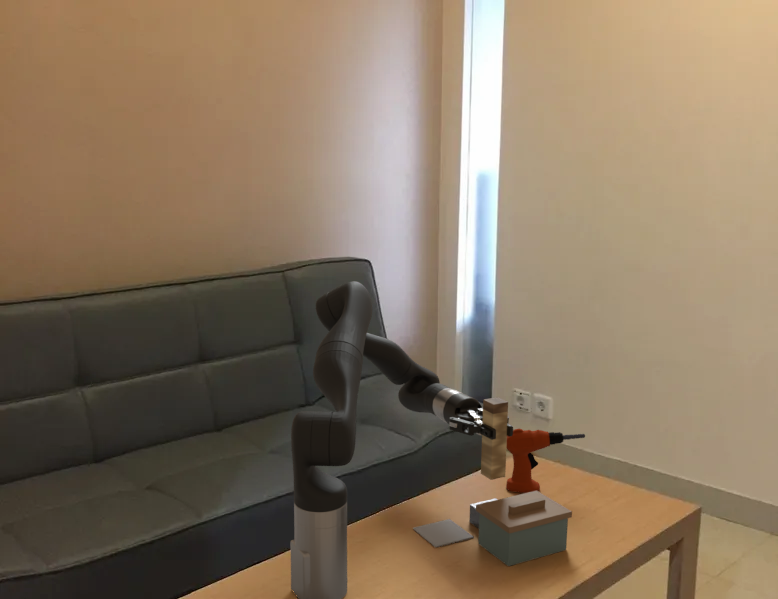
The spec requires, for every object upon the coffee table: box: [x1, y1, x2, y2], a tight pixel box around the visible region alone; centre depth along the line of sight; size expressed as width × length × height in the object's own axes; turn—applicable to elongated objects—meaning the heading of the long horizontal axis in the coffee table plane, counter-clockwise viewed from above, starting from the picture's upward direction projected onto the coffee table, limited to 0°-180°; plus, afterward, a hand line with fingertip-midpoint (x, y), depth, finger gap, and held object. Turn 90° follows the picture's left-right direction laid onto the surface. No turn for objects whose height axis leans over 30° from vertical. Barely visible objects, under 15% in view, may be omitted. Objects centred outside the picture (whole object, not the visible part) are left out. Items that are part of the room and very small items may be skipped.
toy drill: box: [506, 428, 586, 494], centre depth 190 cm, size 5×19×15 cm, turn 85°
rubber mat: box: [412, 518, 474, 549], centre depth 170 cm, size 9×9×1 cm
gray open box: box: [468, 498, 499, 530], centre depth 173 cm, size 7×7×4 cm
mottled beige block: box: [480, 396, 509, 481], centre depth 170 cm, size 4×4×16 cm
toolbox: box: [476, 491, 573, 567], centre depth 163 cm, size 15×11×10 cm
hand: (502, 433), depth 167 cm, fingers closed on mottled beige block, 3 cm apart
